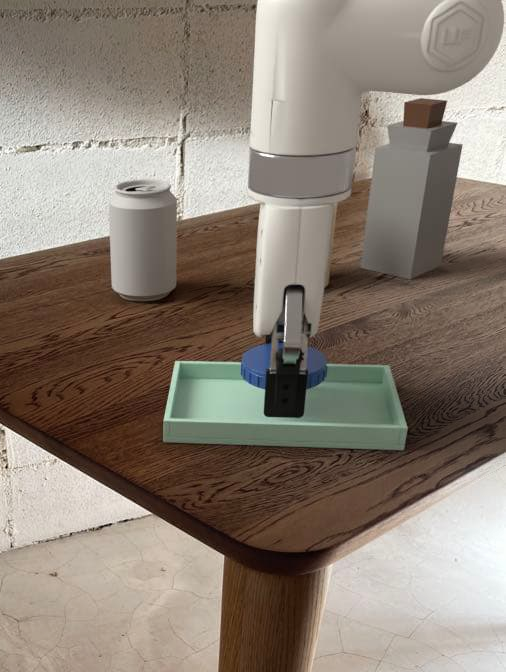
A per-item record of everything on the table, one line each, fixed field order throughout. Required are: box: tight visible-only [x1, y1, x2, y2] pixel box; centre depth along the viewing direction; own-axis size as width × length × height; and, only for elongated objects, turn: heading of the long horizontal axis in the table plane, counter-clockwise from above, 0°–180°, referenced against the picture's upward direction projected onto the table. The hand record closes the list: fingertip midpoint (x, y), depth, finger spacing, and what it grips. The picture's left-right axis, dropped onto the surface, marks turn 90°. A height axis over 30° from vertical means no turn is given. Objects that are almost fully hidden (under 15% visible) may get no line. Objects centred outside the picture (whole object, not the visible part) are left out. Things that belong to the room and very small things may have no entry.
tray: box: [163, 360, 409, 451], centre depth 74 cm, size 19×12×2 cm, turn 81°
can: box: [108, 178, 178, 302], centre depth 98 cm, size 8×8×12 cm
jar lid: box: [240, 343, 328, 389], centre depth 72 cm, size 7×7×1 cm
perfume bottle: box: [359, 97, 463, 280], centre depth 100 cm, size 7×7×18 cm
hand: (282, 394), depth 74 cm, fingers closed on jar lid, 6 cm apart
